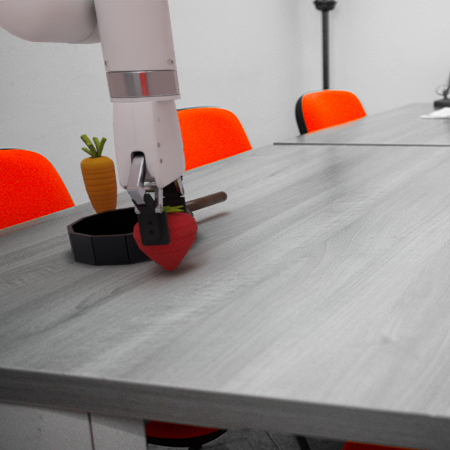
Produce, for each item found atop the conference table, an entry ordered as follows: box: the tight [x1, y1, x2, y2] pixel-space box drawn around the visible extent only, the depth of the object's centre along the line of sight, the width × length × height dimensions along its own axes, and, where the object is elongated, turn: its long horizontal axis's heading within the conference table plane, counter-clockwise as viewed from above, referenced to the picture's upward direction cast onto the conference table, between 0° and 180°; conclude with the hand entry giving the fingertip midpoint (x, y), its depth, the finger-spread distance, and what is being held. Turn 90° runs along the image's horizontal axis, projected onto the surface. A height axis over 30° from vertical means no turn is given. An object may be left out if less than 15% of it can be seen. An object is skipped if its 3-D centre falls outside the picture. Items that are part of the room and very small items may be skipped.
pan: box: [66, 190, 228, 266], centre depth 87 cm, size 27×16×4 cm, turn 153°
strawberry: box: [133, 206, 199, 272], centre depth 71 cm, size 6×8×10 cm
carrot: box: [79, 133, 118, 214], centre depth 92 cm, size 5×5×15 cm
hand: (166, 234), depth 71 cm, fingers closed on strawberry, 6 cm apart
